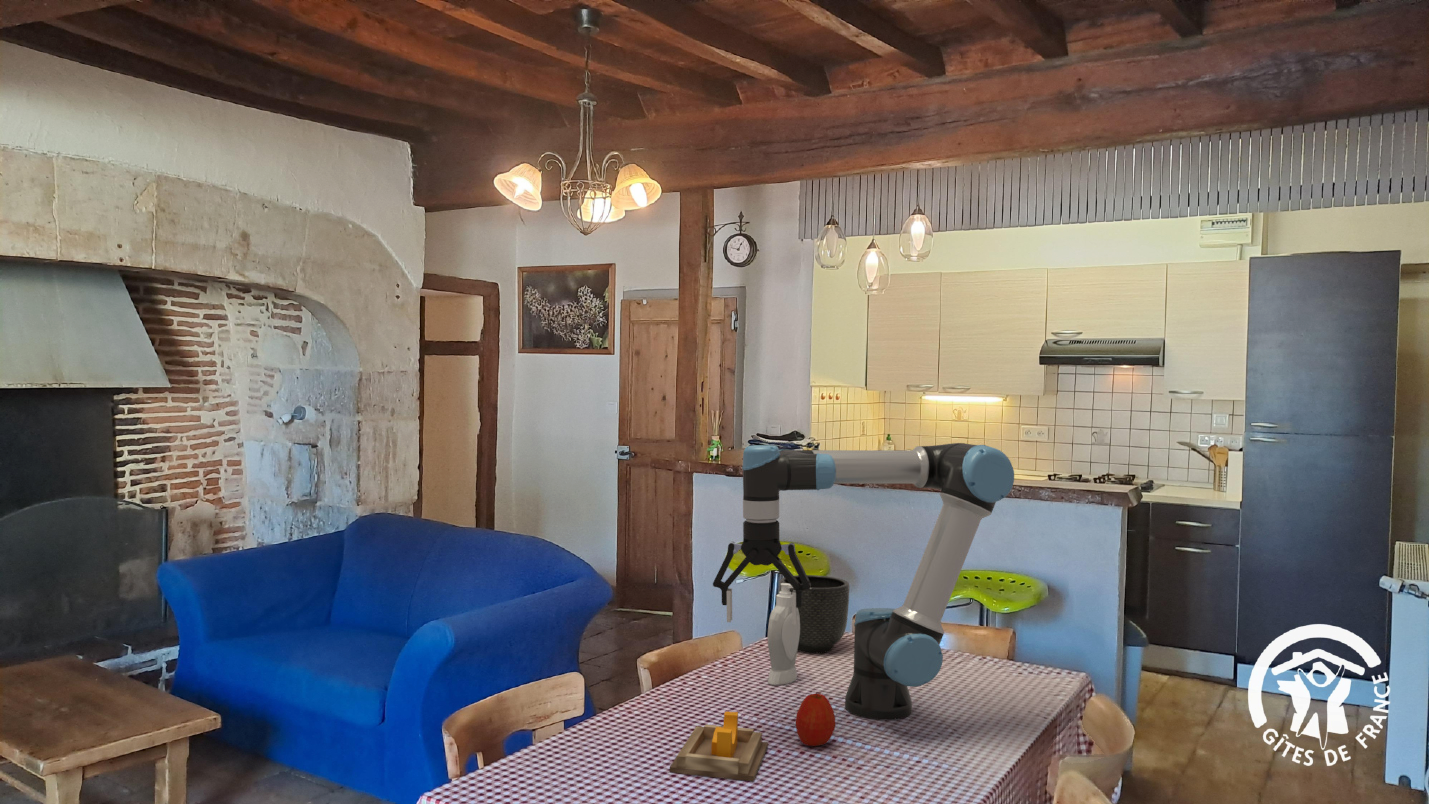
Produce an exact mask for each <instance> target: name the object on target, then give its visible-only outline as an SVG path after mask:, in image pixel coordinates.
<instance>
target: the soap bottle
mask: <svg viewBox="0 0 1429 804" xmlns="http://www.w3.org/2000/svg"><path fill="white" fill-rule="evenodd" d="M790 588H793V587H792V586H791V584H788V583H781V591H780V592H778V594H776V595H775V597H776V599H775V600H776V601H775V603H776V604H775V606H774V608H773V609H772V610H771V612H770V614H769V619H768V628H767V648H768V653H769V654H768V655H769V659H770V660H769V661H770V667H771V668H770V670H769V674H768V679H767V683H768V685H771V686H784V685H789V684H791V683H793V682H795V681H796V680H797V679H798V673H797V667H796V662H797V661H796V660H797V655H798V644H799V637H800V615H799V611H798V608H797V623H796V624H792V595H791V592H789V590H790Z"/></svg>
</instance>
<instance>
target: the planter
mask: <svg viewBox="0 0 1429 804" xmlns="http://www.w3.org/2000/svg"><path fill="white" fill-rule="evenodd" d="M806 575H807V574H806ZM793 576H794V577H795V578H796V579H797V580H798V582H799V583H800V584H802V582H801V580H800V578H799V576H798V574H797V575H796V574H795V575H793ZM807 577H808V579H809V581H810V583H811V586H810V589H806V590H804V591H802V606H801V607H797V608H798V611H799V615H800V637H799V644H798V650H797V652H801V653H802V652H803V653H807V654H824V653H828V652H830V651H832V650H833V648H834V646H835V645H836V644H837V643H838V642H840V641H841V639H842V638H843V636H844V634H845V632H846V628H847V624H848V614H849V605H850V604H849V603H850V583H849V582H848V581H847V580H846V579H845V580H844V579H842V578H837V577H833V576H826V575H814V574H808V575H807ZM781 583H788V584H790V583H789V582H788V581H787V580H786V578H785V577H784V576H783V577H782V578H780V580H779V588H778V589H779V590H778V591H779V592H780V591H781ZM793 590H795V589H794V588H790V590H789V592H791V595H792V592H793ZM779 592H778V593H779Z"/></svg>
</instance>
